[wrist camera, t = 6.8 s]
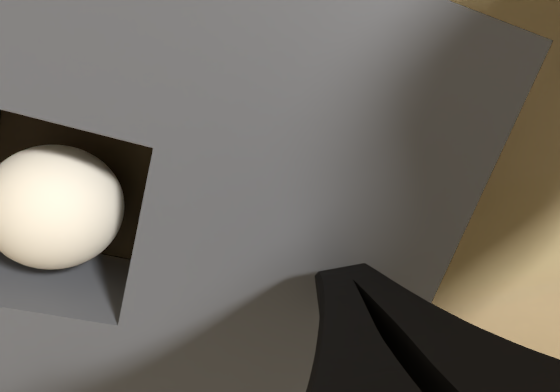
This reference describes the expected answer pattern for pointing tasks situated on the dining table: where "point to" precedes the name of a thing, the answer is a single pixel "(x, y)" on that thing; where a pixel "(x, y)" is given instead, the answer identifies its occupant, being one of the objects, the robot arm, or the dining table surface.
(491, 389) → the robot arm
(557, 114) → the dining table surface
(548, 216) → the dining table surface
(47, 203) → the ball
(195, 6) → the deck
